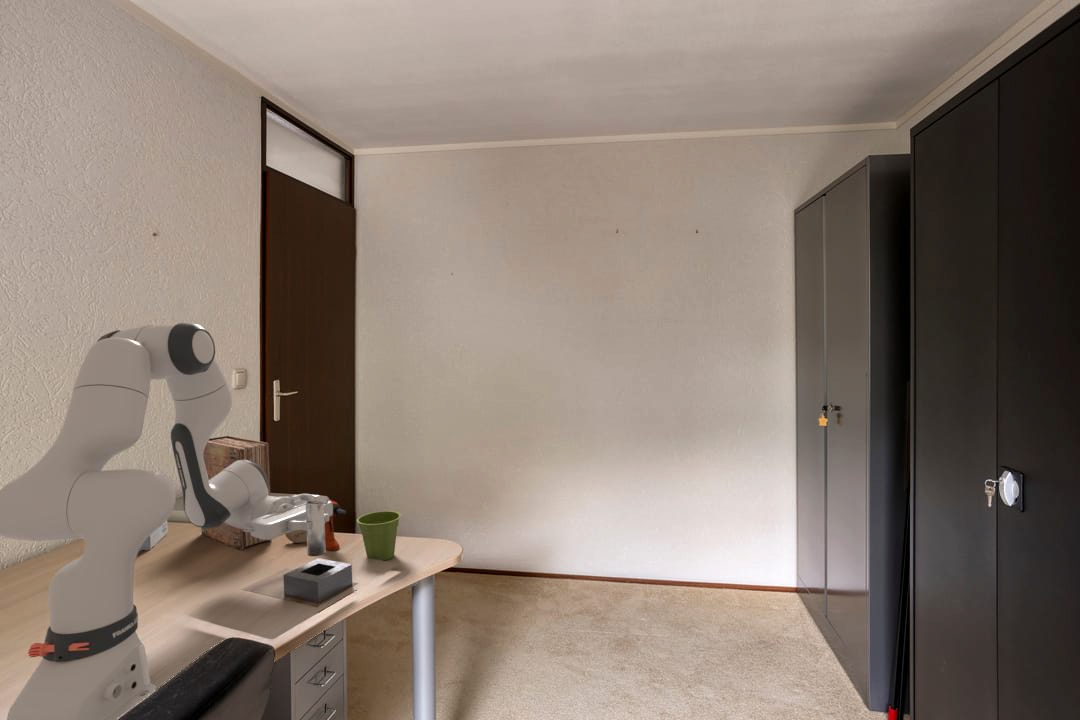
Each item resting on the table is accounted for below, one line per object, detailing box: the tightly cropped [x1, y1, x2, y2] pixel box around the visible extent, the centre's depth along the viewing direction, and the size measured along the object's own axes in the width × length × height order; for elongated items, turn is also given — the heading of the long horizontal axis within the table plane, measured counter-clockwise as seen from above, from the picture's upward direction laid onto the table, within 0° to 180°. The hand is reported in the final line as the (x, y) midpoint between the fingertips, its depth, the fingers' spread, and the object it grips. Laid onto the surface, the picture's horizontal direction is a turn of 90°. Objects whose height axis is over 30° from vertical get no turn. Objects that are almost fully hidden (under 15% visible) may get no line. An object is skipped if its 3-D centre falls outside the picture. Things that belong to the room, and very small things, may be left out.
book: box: [200, 435, 273, 551], centre depth 174 cm, size 25×9×30 cm, turn 54°
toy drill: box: [325, 499, 347, 552], centre depth 161 cm, size 5×19×15 cm, turn 40°
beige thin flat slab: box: [241, 568, 359, 614], centre depth 136 cm, size 24×13×2 cm, turn 66°
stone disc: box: [284, 530, 307, 544], centre depth 170 cm, size 10×4×10 cm, turn 135°
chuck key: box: [299, 493, 330, 557], centre depth 133 cm, size 8×4×14 cm, turn 66°
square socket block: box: [283, 557, 353, 604], centre depth 133 cm, size 11×11×5 cm
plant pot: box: [356, 510, 402, 562], centre depth 157 cm, size 12×12×11 cm
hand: (318, 522), depth 132 cm, fingers closed on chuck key, 4 cm apart
